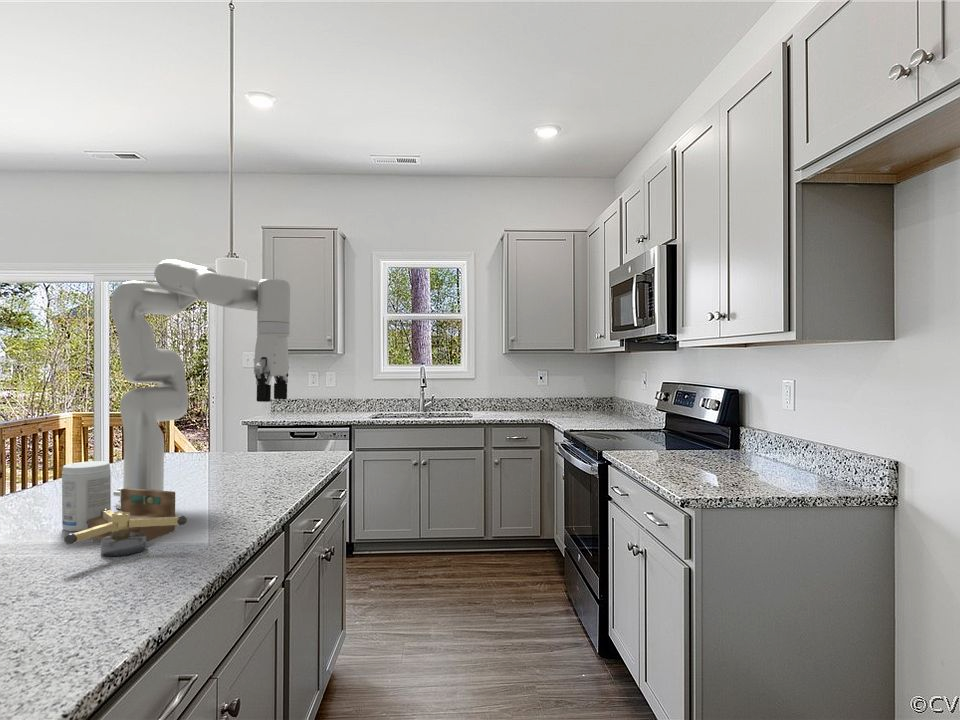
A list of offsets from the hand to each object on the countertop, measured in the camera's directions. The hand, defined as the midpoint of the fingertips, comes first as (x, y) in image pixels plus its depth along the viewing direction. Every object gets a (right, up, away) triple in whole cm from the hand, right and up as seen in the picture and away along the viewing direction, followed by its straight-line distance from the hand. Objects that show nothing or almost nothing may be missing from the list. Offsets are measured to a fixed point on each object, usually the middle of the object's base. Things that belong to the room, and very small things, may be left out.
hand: (272, 400), depth 148 cm
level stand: (-27, -29, -12) cm, 42 cm away
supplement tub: (-41, -29, -6) cm, 51 cm away
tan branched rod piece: (-24, -29, -26) cm, 46 cm away
